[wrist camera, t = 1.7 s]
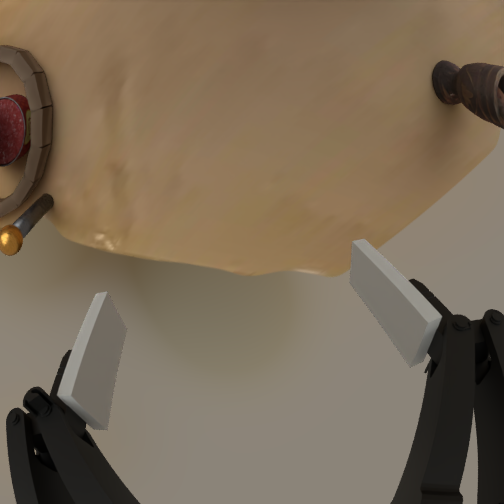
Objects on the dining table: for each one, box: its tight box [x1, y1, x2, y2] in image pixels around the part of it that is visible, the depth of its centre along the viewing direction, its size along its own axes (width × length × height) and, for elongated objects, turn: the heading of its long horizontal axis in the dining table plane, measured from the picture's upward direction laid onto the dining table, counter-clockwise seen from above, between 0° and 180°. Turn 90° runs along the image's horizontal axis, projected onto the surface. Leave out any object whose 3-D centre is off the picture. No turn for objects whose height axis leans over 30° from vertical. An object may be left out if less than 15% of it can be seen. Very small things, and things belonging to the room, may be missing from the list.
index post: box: [0, 194, 54, 256], centre depth 26 cm, size 4×4×12 cm
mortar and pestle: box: [433, 61, 504, 129], centre depth 20 cm, size 12×9×20 cm
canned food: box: [0, 94, 31, 166], centre depth 21 cm, size 11×10×10 cm
